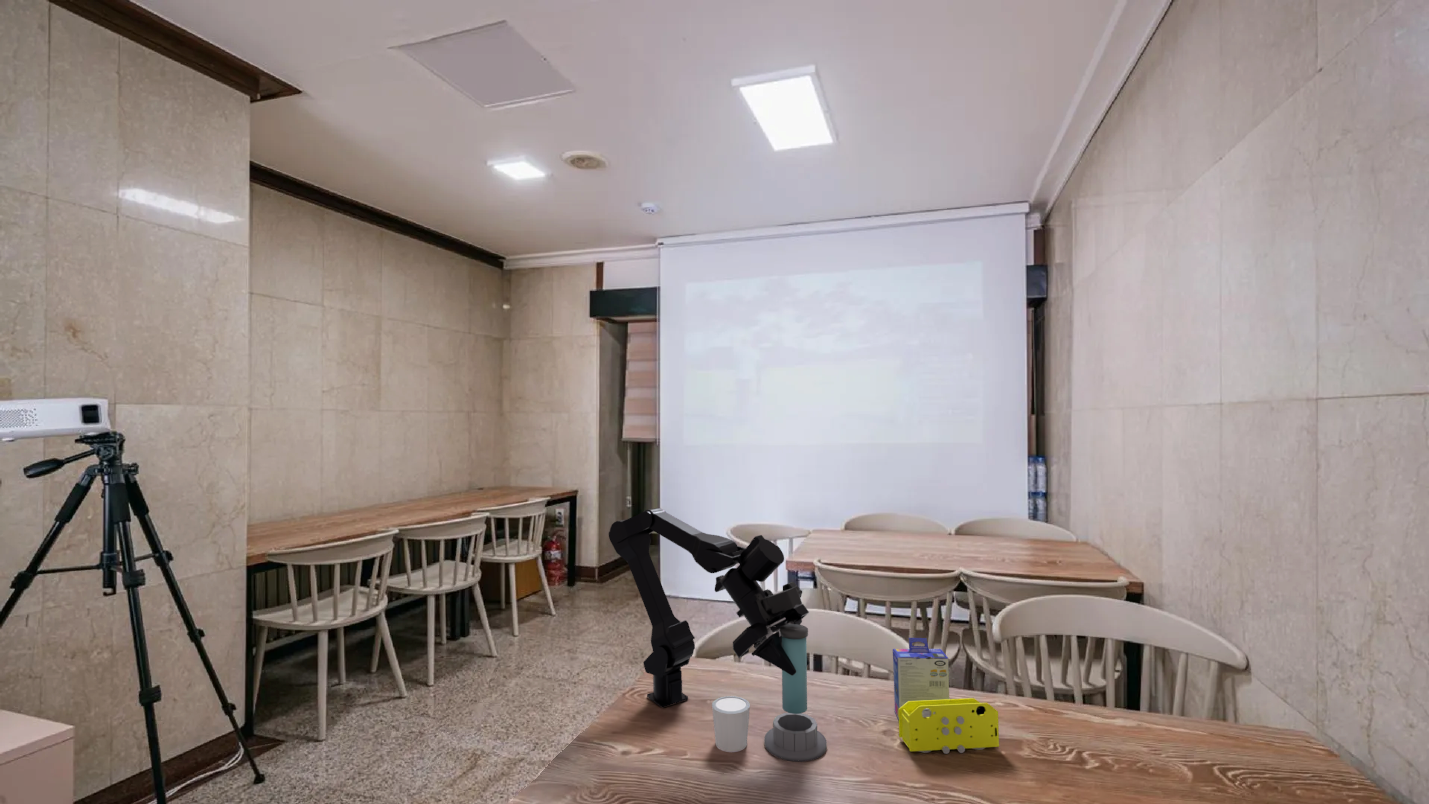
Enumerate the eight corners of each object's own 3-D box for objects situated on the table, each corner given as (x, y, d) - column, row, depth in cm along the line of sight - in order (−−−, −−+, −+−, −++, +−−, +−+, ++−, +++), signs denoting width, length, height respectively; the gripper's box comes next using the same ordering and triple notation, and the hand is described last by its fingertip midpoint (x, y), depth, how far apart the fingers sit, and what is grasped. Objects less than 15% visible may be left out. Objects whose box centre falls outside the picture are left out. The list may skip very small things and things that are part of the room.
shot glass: (747, 755, 104) (746, 714, 104) (708, 752, 105) (708, 711, 105) (752, 735, 111) (752, 696, 111) (716, 732, 112) (715, 693, 112)
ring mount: (751, 741, 109) (751, 719, 109) (796, 722, 115) (796, 702, 115) (794, 769, 100) (793, 745, 100) (839, 747, 106) (839, 725, 106)
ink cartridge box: (943, 710, 120) (941, 636, 120) (952, 723, 114) (950, 646, 115) (892, 708, 121) (891, 635, 121) (899, 722, 115) (897, 645, 116)
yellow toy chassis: (911, 757, 103) (910, 708, 103) (898, 740, 109) (897, 693, 109) (1000, 752, 104) (999, 703, 105) (983, 736, 110) (982, 689, 110)
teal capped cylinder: (775, 704, 109) (775, 626, 110) (799, 699, 111) (799, 622, 111) (789, 716, 104) (788, 635, 105) (814, 711, 106) (813, 631, 107)
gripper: (746, 581, 103) (803, 661, 96) (799, 561, 118) (852, 629, 111) (710, 618, 108) (762, 698, 101) (765, 594, 123) (814, 662, 116)
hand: (801, 669), depth 107 cm, fingers closed on teal capped cylinder, 4 cm apart
